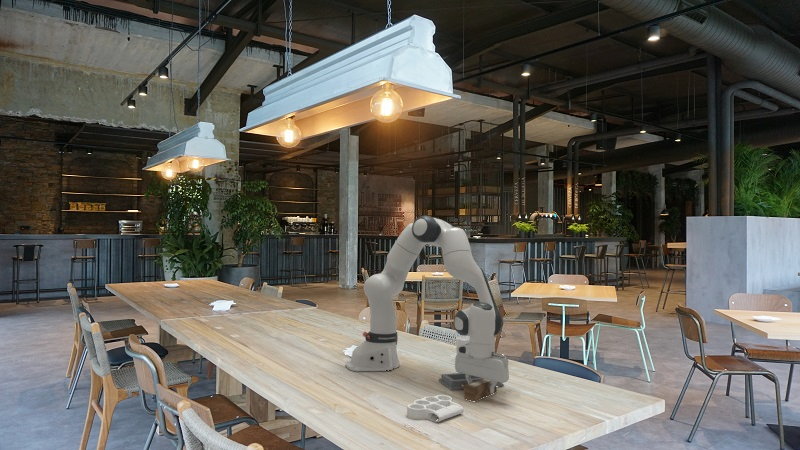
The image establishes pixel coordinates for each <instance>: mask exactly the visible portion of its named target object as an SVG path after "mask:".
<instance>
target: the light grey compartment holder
mask: <svg viewBox="0 0 800 450" xmlns="http://www.w3.org/2000/svg"><path fill="white" fill-rule="evenodd" d="M406 407H407V408H406V416H407V418H409V419H413V420H429V421H431V422H433V421H434V423H439V422H442V421H445V420H448V419H449V418H453V417H455V416H457V415H461V414H463V413H464V412H465V410H464V407H463V406H462V405H461V404H459V403H457V402H454V401H453V398H452V397H451V396H450V395H445V394H437V395H433V396H424V397H422V398H417V399H415V400H414V401H413V402H412V403H409V404H407V406H406ZM437 419H439V420H438V421H436V420H437Z"/></svg>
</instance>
